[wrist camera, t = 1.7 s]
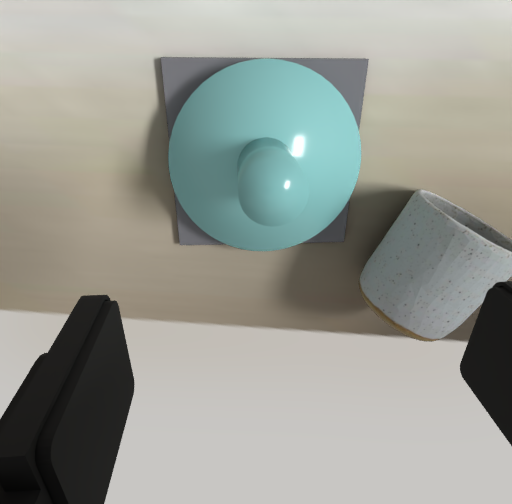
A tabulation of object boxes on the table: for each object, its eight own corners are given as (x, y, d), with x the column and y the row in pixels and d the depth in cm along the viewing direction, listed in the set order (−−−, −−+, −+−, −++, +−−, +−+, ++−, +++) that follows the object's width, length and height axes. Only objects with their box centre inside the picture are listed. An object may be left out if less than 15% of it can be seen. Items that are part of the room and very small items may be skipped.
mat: (366, 58, 22) (368, 59, 22) (342, 239, 28) (343, 241, 28) (161, 57, 21) (160, 57, 21) (180, 242, 27) (179, 245, 27)
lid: (368, 59, 22) (414, 62, 16) (343, 241, 28) (371, 289, 22) (160, 57, 21) (136, 60, 16) (179, 245, 27) (166, 294, 21)
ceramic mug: (339, 269, 29) (373, 336, 22) (398, 176, 26) (460, 222, 19) (444, 308, 32) (503, 378, 25) (511, 228, 29) (599, 284, 22)
